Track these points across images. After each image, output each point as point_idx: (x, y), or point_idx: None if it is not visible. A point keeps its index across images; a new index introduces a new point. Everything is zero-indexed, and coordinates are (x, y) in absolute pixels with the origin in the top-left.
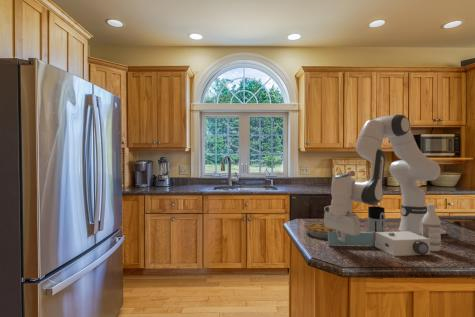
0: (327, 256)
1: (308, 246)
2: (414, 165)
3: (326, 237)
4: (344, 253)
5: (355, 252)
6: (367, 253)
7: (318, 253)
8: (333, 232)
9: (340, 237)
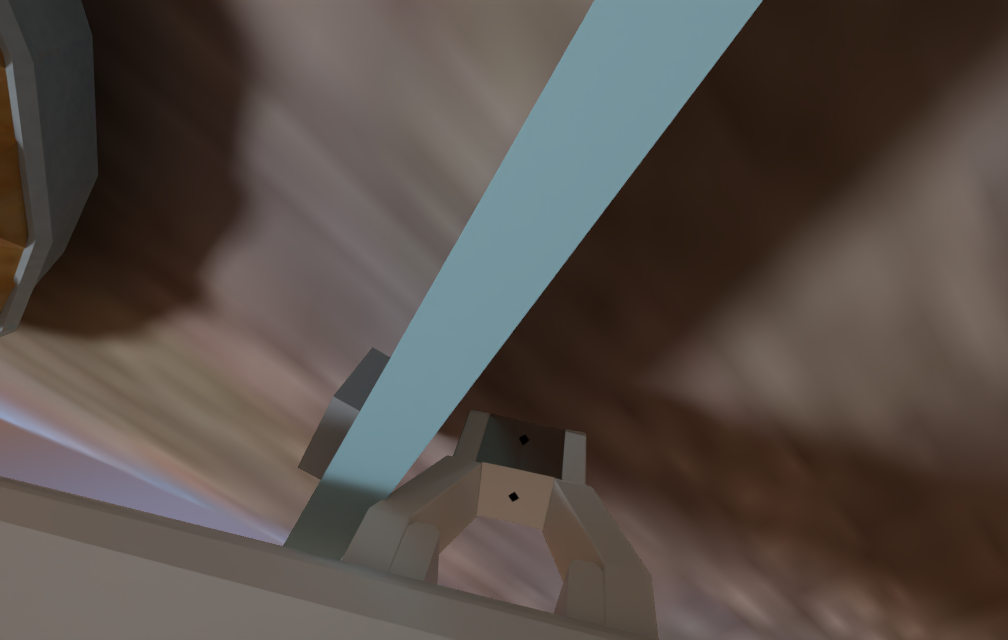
0: (660, 627)
1: None
2: None
3: (74, 214)
4: (715, 494)
5: (801, 378)
6: (1003, 273)
7: None
8: (339, 555)
9: (532, 526)
